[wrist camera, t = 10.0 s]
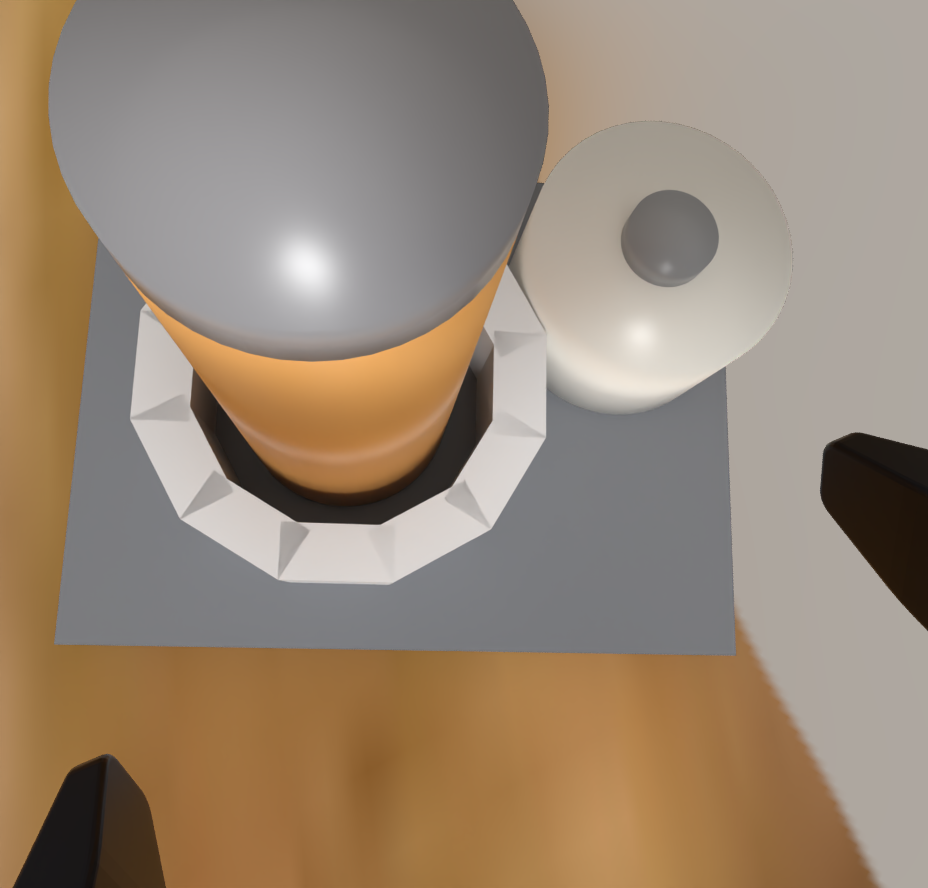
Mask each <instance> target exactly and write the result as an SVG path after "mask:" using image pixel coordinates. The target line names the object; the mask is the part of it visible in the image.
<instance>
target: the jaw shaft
mask: <svg viewBox="0 0 928 888" xmlns="http://www.w3.org/2000/svg"><path fill="white" fill-rule="evenodd" d="M548 108H549V105H548V96H547V89H546V81H545V75H544V71H543V68H542V64H541V60H540V56H539V53H538V50H537V47H536V45H535V43H534V40H533V38H532V35H531V33H530V30H529V28H528V26H527V24H526V22H525V20H524V19H523V17H522V15H521V13H520V12H519V10H518V9H517V7H516V5H515V3H514V1H513V0H77V1H76V2H75V4H74V6H73V8H72V10H71V12H70V14H69V16H68V19H67V21H66V23H65V25H64V27H63V29H62V32H61V35H60V38H59V41H58V44H57V47H56V51H55V54H54V57H53V63H52V69H51V76H50V82H49V122H50V128H51V135H52V142H53V147H54V151H55V154H56V157H57V160H58V164H59V167H60V170H61V173H62V176H63V178H64V180H65V183H66V185H67V187H68V189H69V191H70V193H71V195H72V197H73V199H74V201H75V203H76V205H77V207H78V208H79V210H80V211H81V213H82V214H83V216H84V217H85V219H86V220H87V222H88V223H89V225H90V226H91V228H92V229H93V230H94V232H95V233H96V235H97V236H98V237H99V239H100V240H101V242H102V243H103V244H104V246H105V247H106V248H107V250H108V251H109V253H110V254H111V255H112V257H113V258H114V259H115V261H116V262H117V264H118V265H119V266H120V268H121V269H122V270H123V272H124V273H125V275H126V276H127V277H128V279H129V280H130V281H131V283H132V284H133V286H134V287H135V288H136V290H137V291H138V292H139V294H140V295H141V297H142V298H143V299H144V301H145V302H146V303H147V305H148V306H149V308H150V309H151V310H152V312H153V313H154V314H155V316H156V317H157V319H158V320H159V321H160V323H161V324H162V325H163V327H164V328H165V330H166V331H167V332H168V334H169V335H170V336H171V338H172V339H173V341H174V342H175V343H176V345H177V346H178V347H179V349H180V350H181V352H182V353H183V354H184V356H185V357H186V358H187V360H188V361H189V363H190V364H191V365H192V367H193V368H194V369H195V371H196V372H197V374H198V375H199V376H200V378H201V379H202V380H203V382H204V383H205V385H206V386H207V387H208V389H209V390H210V391H211V393H212V394H213V396H214V397H215V398H216V400H217V401H218V402H219V404H220V405H221V407H222V408H223V409H224V411H225V412H226V413H227V415H228V416H229V418H230V419H231V420H232V422H233V423H234V424H235V426H236V427H237V429H238V430H239V431H240V433H241V434H242V436H243V437H244V438H245V440H246V441H247V442H248V444H249V445H250V447H251V448H252V449H253V451H254V452H255V453H256V455H257V456H258V458H259V459H260V460H261V462H262V463H263V464H264V466H265V467H266V468H267V470H268V471H269V472H270V473H271V474H272V475H273V476H274V477H275V478H276V479H277V480H278V481H279V482H280V483H282V484H283V485H284V486H285V487H287V488H288V489H290V490H291V491H293V492H294V493H296V494H298V495H300V496H302V497H304V498H307V499H309V500H312V501H315V502H318V503H322V504H327V505H333V506H359V505H365V504H369V503H374V502H377V501H380V500H383V499H385V498H388V497H390V496H392V495H394V494H396V493H398V492H399V491H401V490H402V489H404V488H405V487H407V486H408V485H409V484H410V483H412V482H413V481H414V480H415V479H416V478H417V477H418V476H419V475H420V474H421V473H422V472H423V471H424V469H425V468H426V467H427V466H428V464H429V463H430V461H431V460H432V458H433V457H434V455H435V453H436V451H437V449H438V446H439V444H440V442H441V439H442V436H443V434H444V431H445V428H446V426H447V423H448V420H449V417H450V415H451V412H452V409H453V407H454V404H455V401H456V399H457V396H458V393H459V391H460V388H461V385H462V383H463V380H464V377H465V375H466V372H467V369H468V367H469V364H470V361H471V359H472V356H473V353H474V350H475V348H476V345H477V342H478V340H479V337H480V334H481V332H482V329H483V326H484V324H485V321H486V318H487V316H488V313H489V310H490V308H491V305H492V302H493V300H494V297H495V294H496V291H497V289H498V286H499V283H500V281H501V278H502V275H503V273H504V270H505V267H506V265H507V262H508V259H509V257H510V254H511V251H512V249H513V246H514V243H515V241H516V238H517V235H518V232H519V230H520V227H521V224H522V222H523V219H524V216H525V214H526V211H527V208H528V206H529V203H530V200H531V198H532V195H533V192H534V190H535V186H536V183H537V180H538V177H539V174H540V171H541V168H542V165H543V161H544V155H545V149H546V143H547V137H548V114H549V113H548V112H549V109H548Z"/></svg>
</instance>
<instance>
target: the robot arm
mask: <svg viewBox="0 0 928 888" xmlns="http://www.w3.org/2000/svg"><path fill="white" fill-rule="evenodd" d="M820 494H821V499H822V502H823V504H824V506H825V508H826V510H827V511H828V512H829V514H830V515H831V516H832V518H833V519H834V520H835V521H836V523H837V524H838V525H839V526H840V528H841V529H842V530H843V531H844V533H845V534H846V535H847V536H848V538H849V539H850V540H851V541H852V543H853V544H854V545H855V546H856V548H857V549H858V550H859V552H860V553H861V554H862V555H863V557H864V558H865V559H866V560H867V562H868V563H869V564H870V565H871V567H872V568H873V569H874V570H875V572H876V573H877V574H878V575H879V577H880V578H881V579H882V581H883V582H884V583H885V584H886V586H887V587H888V588H889V589H890V590H891V591H892V593H893V594H894V595H895V596H896V598H897V599H898V600H899V601H900V602H901V603H902V604H903V605H904V606H905V608H906V609H907V610H908V611H909V612H910V613H911V614H912V615H913V616H914V617H915V618H916V619H917V620H918V621H919V622H920V623H921V624H922V625H923V626H924V627H925V628H926V629H927V631H928V450H927V449H924V448H919V447H915V446H912V445H908V444H904V443H900V442H896V441H892V440H888V439H884V438H880V437H876V436H872V435H868V434H864V433H851V434H848V435H846V436H843V437H841V438H839V439H836V440H834V441H832V442H830V443H828V444H827V445H826V447H825V449H824V452H823V461H822V474H821V486H820ZM13 888H166V886H165V881H164V876H163V871H162V866H161V861H160V855H159V850H158V845H157V840H156V835H155V830H154V825H153V820H152V815H151V811H150V807H149V804H148V801H147V799H146V797H145V795H144V793H143V792H142V790H141V789H140V788H139V786H138V785H137V784H136V783H135V781H134V780H133V779H132V778H131V776H130V775H129V774H128V773H127V771H126V770H125V769H124V768H123V766H122V765H121V764H120V763H119V761H118V760H117V759H116V758H115V757H114V756H112V755H110V754H105V755H101V756H98V757H96V758H94V759H91V760H89V761H87V762H84V763H82V764H80V765H77V766H75V767H74V768H73V769H71V770H70V772H69V773H68V774H67V776H66V777H65V779H64V782H63V784H62V786H61V788H60V790H59V792H58V794H57V796H56V798H55V800H54V803H53V805H52V807H51V809H50V811H49V813H48V815H47V817H46V819H45V821H44V823H43V826H42V828H41V830H40V832H39V834H38V836H37V838H36V840H35V842H34V844H33V846H32V849H31V851H30V853H29V855H28V857H27V859H26V861H25V863H24V865H23V867H22V869H21V872H20V874H19V876H18V878H17V880H16V882H15V884H14V886H13Z"/></svg>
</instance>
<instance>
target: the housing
mask: <svg viewBox="0 0 928 888" xmlns="http://www.w3.org/2000/svg"><path fill="white" fill-rule="evenodd" d="M792 270H793V251H792V243H791V236H790V232H789V228H788V224H787V220H786V218H785V215H784V212H783V210H782V207H781V205H780V203H779V201H778V199H777V197H776V196H775V194H774V192H773V190H772V189H771V187H770V186H769V184H768V183H767V181H766V180H765V179H764V177H763V176H762V175H761V174H760V173H759V172H758V170H757V169H756V168H755V167H754V166H753V165H752V164H751V163H750V162H749V161H748V160H747V159H746V158H745V157H743V156H742V155H741V154H740V153H739V152H738V151H736V150H735V149H733V148H732V147H730V146H729V145H727V144H726V143H725V142H723V141H721V140H719V139H717V138H715V137H713V136H712V135H710V134H707V133H705V132H702V131H700V130H698V129H695V128H692V127H688V126H684V125H680V124H675V123H668V122H662V121H641V122H630V123H625V124H621V125H617V126H613V127H610V128H608V129H605V130H602V131H599V132H597V133H595V134H594V135H592V136H590V137H588V138H586V139H584V140H583V141H581V142H580V143H579V144H578V145H576V146H575V147H574V148H572V149H571V150H570V151H569V152H568V153H567V154H566V155H565V156H564V157H563V158H562V159H561V160H560V161H559V162H558V163H557V165H556V166H555V167H554V169H553V170H552V171H551V173H550V174H549V176H548V178H547V180H546V182H545V183H536V186H535V190H534V192H533V195H532V198H531V200H530V203H529V206H528V208H527V211H526V214H525V216H524V219H523V222H522V224H521V227H520V230H519V232H518V235H517V238H516V241H515V243H514V246H513V249H512V251H511V254H510V257H509V259H508V262H507V265H506V267H505V270H504V273H503V275H502V278H501V281H500V283H499V286H498V289H497V291H496V294H495V297H494V300H493V302H492V305H491V308H490V310H489V313H488V316H487V318H486V321H485V324H484V326H483V329H482V332H481V334H480V337H479V340H478V342H477V345H476V348H475V350H474V353H473V356H472V359H471V361H470V364H469V367H468V369H467V372H466V375H465V377H464V380H463V383H462V385H461V388H460V391H459V393H458V396H457V399H456V401H455V404H454V407H453V409H452V412H451V415H450V417H449V420H448V423H447V426H446V428H445V431H444V434H443V436H442V439H441V442H440V444H439V446H438V449H437V451H436V453H435V455H434V457H433V458H432V460H431V461H430V463H429V464H428V466H427V467H426V468H425V469H424V471H423V472H422V473H421V474H420V475H419V476H418V477H417V478H416V479H415V480H414V481H413V482H412V483H410V484H409V485H408V486H407V487H405V488H404V489H402V490H401V491H399V492H398V493H396V494H394V495H392V496H390V497H388V498H385V499H383V500H380V501H377V502H374V503H369V504H365V505H359V506H333V505H327V504H322V503H318V502H315V501H312V500H309V499H307V498H304V497H302V496H300V495H298V494H296V493H294V492H293V491H291V490H290V489H288V488H287V487H285V486H284V485H283V484H282V483H280V482H279V481H278V480H277V479H276V478H275V477H274V476H273V475H272V474H271V473H270V472H269V471H268V470H267V468H266V467H265V466H264V464H263V463H262V462H261V460H260V459H259V458H258V456H257V455H256V453H255V452H254V451H253V449H252V448H251V447H250V445H249V444H248V442H247V441H246V440H245V438H244V437H243V436H242V434H241V433H240V431H239V430H238V429H237V427H236V426H235V424H234V423H233V422H232V420H231V419H230V418H229V416H228V415H227V413H226V412H225V411H224V409H223V408H222V407H221V405H220V404H219V402H218V401H217V400H216V398H215V397H214V396H213V394H212V393H211V391H210V390H209V389H208V387H207V386H206V385H205V383H204V382H203V380H202V379H201V378H200V376H199V375H198V374H197V372H196V371H195V369H194V368H193V367H192V365H191V364H190V363H189V361H188V360H187V358H186V357H185V356H184V354H183V353H182V352H181V350H180V349H179V347H178V346H177V345H176V343H175V342H174V341H173V339H172V338H171V336H170V335H169V334H168V332H167V331H166V330H165V328H164V327H163V325H162V324H161V323H160V321H159V320H158V319H157V317H156V316H155V314H154V313H153V312H152V310H151V309H150V308H149V306H148V305H147V303H146V302H145V301H144V299H143V298H142V297H141V295H140V294H139V292H138V291H137V290H136V288H135V287H134V286H133V284H132V283H131V281H130V280H129V279H128V277H127V276H126V275H125V273H124V272H123V270H122V269H121V268H120V266H119V265H118V264H117V262H116V261H115V259H114V258H113V257H112V255H111V254H110V253H109V251H108V250H107V248H106V247H105V246H104V244H103V243H102V242H101V240H100V239H98V248H97V257H96V266H95V275H94V285H93V294H92V303H91V312H90V321H89V330H88V339H87V349H86V358H85V367H84V376H83V385H82V394H81V404H80V413H79V422H78V431H77V440H76V449H75V459H74V468H73V477H72V486H71V495H70V504H69V514H68V523H67V532H66V541H65V550H64V559H63V568H62V578H61V587H60V596H59V605H58V614H57V623H56V633H55V642H54V644H64V645H125V646H186V647H247V648H308V649H369V650H430V651H491V652H552V653H613V654H674V655H735V656H736V647H735V619H734V591H733V565H732V564H733V563H732V535H731V507H730V480H729V452H728V423H727V395H726V368H725V366H726V365H728V364H729V363H731V362H732V361H734V360H736V359H737V358H739V357H740V356H742V355H743V354H745V353H746V352H748V351H749V350H750V349H751V348H753V347H754V346H755V345H756V344H757V343H758V342H759V341H760V340H761V339H762V338H763V337H764V336H765V335H766V334H767V332H768V331H769V330H770V329H771V327H772V326H773V324H774V323H775V321H776V320H777V318H778V316H779V315H780V312H781V310H782V308H783V305H784V304H785V302H786V298H787V295H788V292H789V288H790V284H791V277H792Z"/></svg>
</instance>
